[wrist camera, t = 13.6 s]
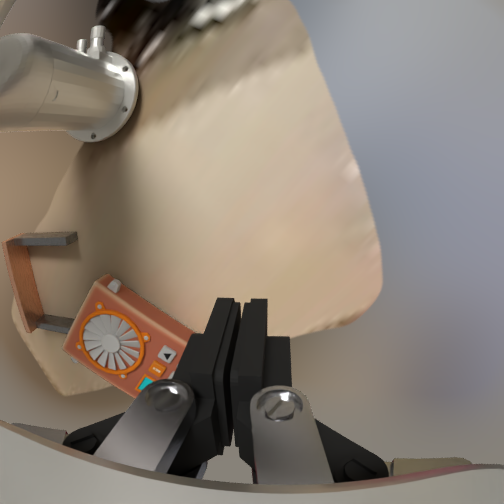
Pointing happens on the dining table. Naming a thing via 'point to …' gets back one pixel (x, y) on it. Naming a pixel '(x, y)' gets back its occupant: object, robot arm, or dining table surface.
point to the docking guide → (25, 280)
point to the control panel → (125, 337)
